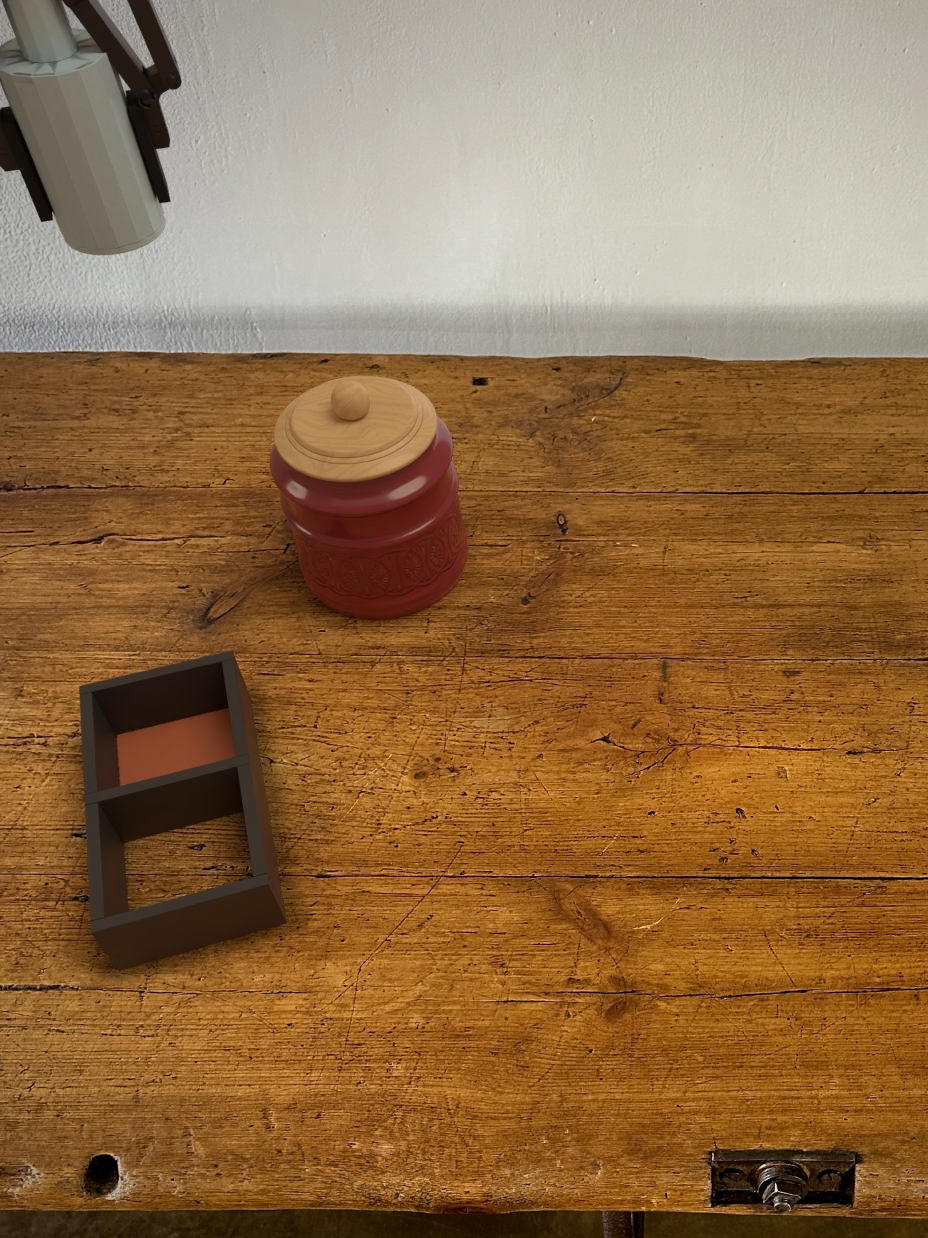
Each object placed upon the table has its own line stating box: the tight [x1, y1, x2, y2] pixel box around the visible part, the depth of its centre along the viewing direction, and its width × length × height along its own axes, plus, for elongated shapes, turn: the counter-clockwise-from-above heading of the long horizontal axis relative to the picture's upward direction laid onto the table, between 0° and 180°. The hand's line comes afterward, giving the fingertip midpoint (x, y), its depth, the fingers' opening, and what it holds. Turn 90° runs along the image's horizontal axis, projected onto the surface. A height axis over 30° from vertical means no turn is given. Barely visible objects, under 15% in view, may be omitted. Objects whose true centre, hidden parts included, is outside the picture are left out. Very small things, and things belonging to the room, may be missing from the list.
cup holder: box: [78, 650, 288, 972], centre depth 78 cm, size 19×10×6 cm, turn 19°
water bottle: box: [0, 0, 167, 256], centre depth 78 cm, size 7×7×16 cm
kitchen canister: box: [269, 375, 470, 621], centre depth 89 cm, size 13×13×18 cm
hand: (105, 201), depth 83 cm, fingers closed on water bottle, 7 cm apart
